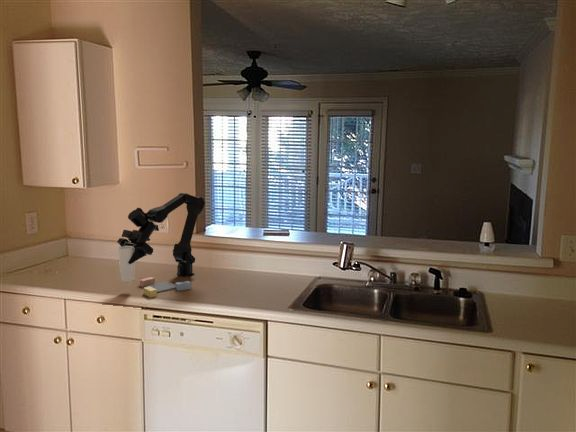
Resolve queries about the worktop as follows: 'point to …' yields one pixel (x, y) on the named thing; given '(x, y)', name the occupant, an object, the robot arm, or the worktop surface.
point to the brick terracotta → (147, 281)
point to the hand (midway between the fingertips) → (124, 262)
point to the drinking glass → (126, 263)
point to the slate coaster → (162, 286)
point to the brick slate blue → (183, 285)
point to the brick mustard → (150, 291)
